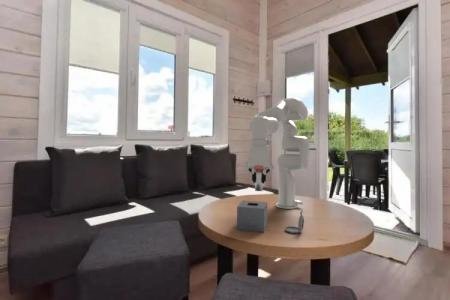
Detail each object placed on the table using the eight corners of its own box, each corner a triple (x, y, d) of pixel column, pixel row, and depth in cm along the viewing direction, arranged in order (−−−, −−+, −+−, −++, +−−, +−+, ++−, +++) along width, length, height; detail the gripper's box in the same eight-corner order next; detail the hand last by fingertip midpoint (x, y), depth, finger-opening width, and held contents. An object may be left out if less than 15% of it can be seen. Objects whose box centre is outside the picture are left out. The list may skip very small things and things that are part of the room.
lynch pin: (265, 189, 119) (265, 165, 119) (264, 191, 113) (264, 166, 113) (253, 189, 120) (254, 164, 120) (251, 191, 115) (252, 165, 115)
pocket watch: (283, 228, 113) (283, 206, 112) (301, 228, 114) (301, 206, 113) (289, 235, 105) (289, 211, 104) (308, 235, 105) (309, 211, 105)
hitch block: (267, 223, 119) (267, 202, 119) (264, 232, 108) (264, 208, 107) (242, 221, 123) (242, 200, 122) (236, 229, 111) (237, 206, 111)
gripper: (278, 143, 118) (277, 182, 118) (243, 143, 122) (242, 180, 122) (277, 143, 111) (276, 185, 111) (240, 143, 115) (239, 182, 115)
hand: (258, 182), depth 117 cm, fingers closed on lynch pin, 3 cm apart
